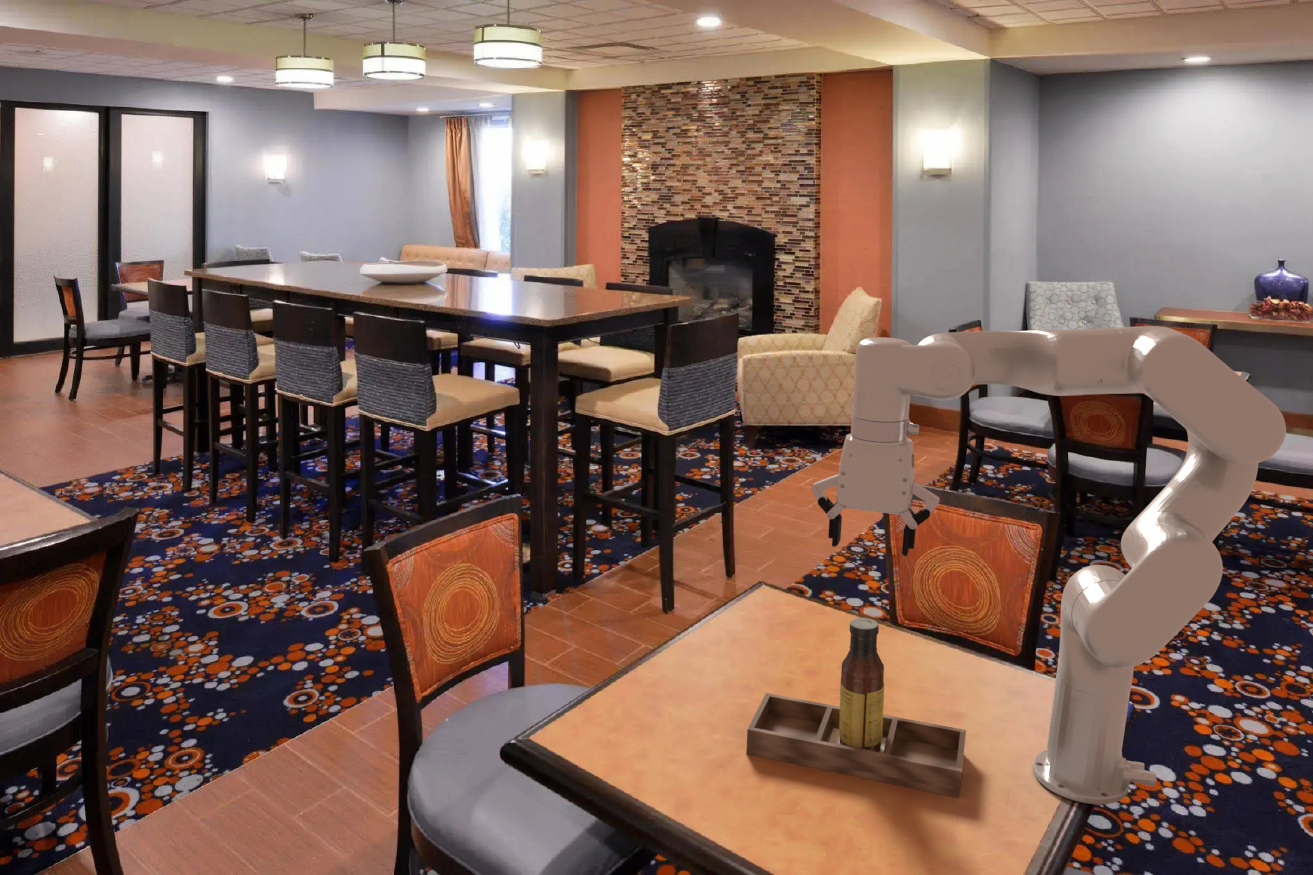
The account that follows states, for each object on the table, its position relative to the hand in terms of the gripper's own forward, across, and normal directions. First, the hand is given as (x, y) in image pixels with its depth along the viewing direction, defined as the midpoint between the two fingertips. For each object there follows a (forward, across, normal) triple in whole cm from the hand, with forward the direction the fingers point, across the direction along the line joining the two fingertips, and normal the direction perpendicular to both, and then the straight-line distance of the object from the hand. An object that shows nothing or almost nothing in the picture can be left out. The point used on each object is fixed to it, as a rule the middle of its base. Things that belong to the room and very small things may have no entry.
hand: (870, 548), depth 138 cm
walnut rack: (+32, 0, 0) cm, 32 cm away
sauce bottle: (+31, 0, 0) cm, 31 cm away
